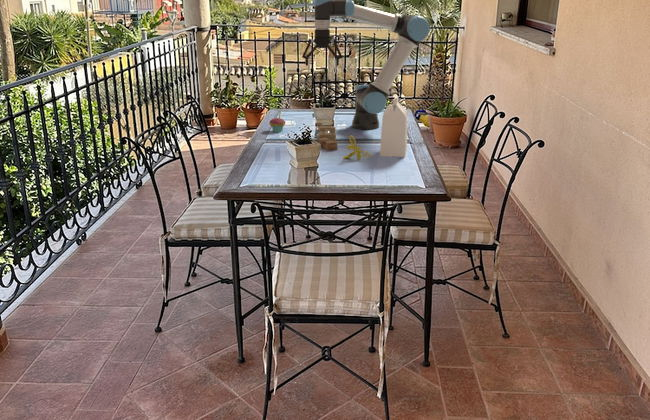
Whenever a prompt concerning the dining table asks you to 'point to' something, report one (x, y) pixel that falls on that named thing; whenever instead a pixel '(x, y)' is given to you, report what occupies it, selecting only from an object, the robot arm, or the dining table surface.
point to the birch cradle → (327, 133)
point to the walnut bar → (327, 144)
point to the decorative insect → (355, 150)
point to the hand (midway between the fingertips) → (322, 72)
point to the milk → (394, 130)
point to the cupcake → (277, 123)
